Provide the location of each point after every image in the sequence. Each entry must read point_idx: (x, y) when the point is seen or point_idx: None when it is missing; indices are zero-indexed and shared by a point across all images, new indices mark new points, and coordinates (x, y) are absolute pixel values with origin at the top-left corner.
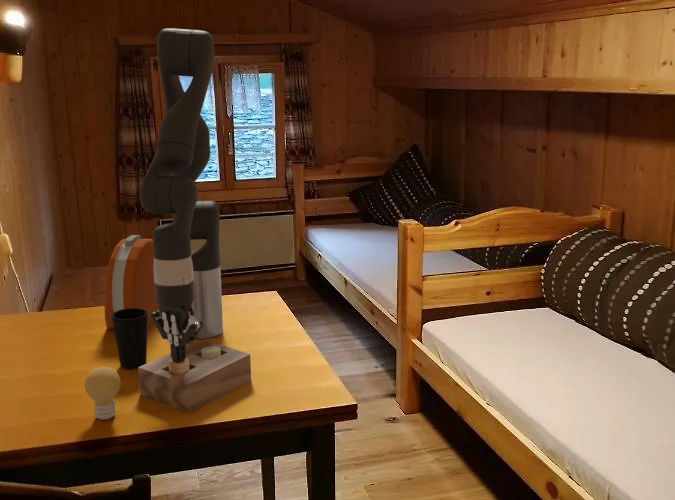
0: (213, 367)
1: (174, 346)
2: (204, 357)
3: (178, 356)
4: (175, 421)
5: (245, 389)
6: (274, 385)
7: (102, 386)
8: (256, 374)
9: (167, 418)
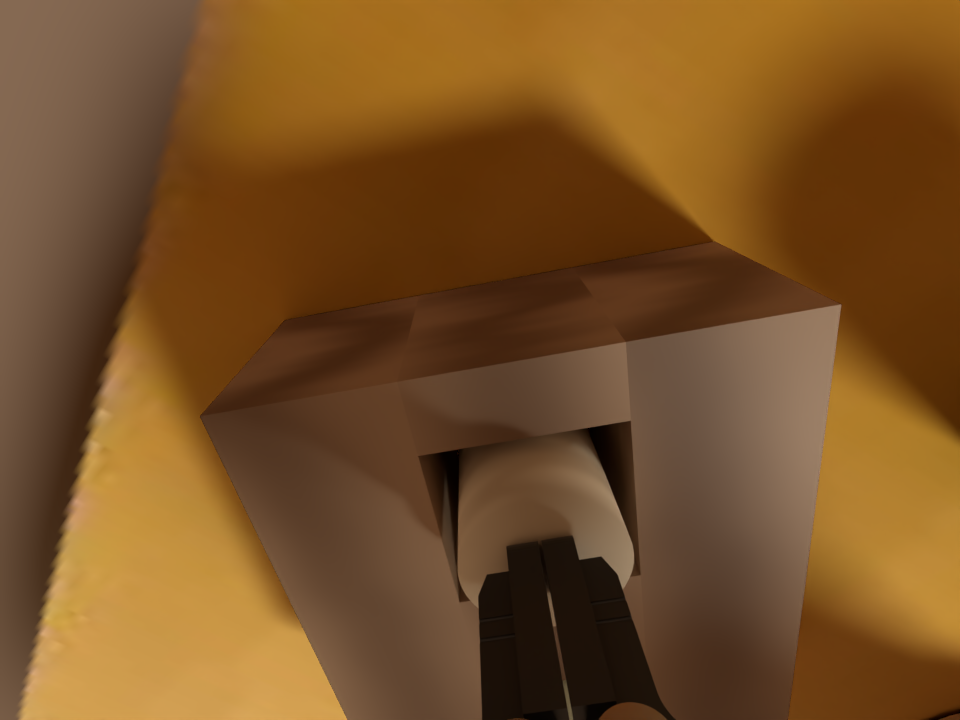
0: (370, 656)
1: (551, 701)
2: (563, 683)
3: (511, 605)
4: (237, 211)
5: None
6: (305, 695)
7: None
8: None
9: (304, 195)
